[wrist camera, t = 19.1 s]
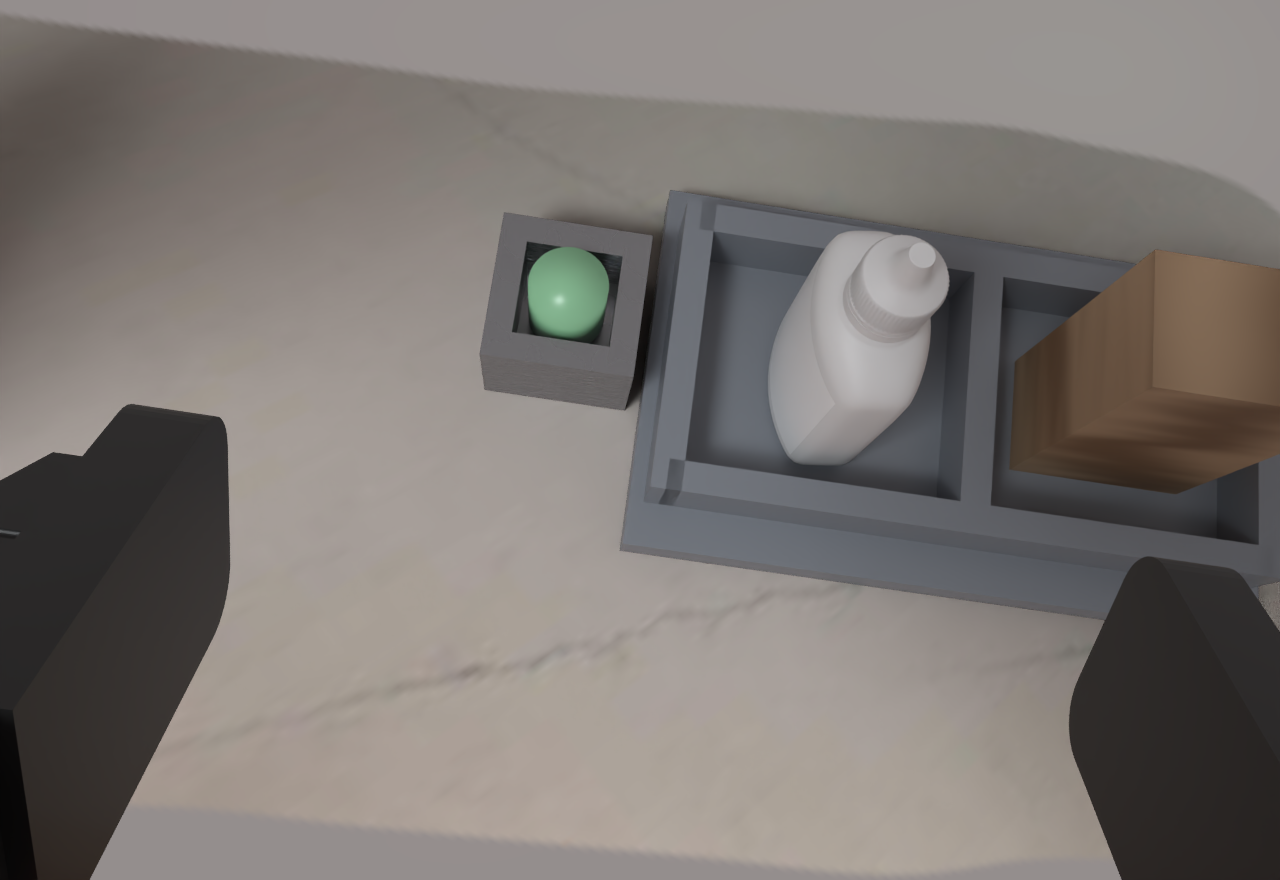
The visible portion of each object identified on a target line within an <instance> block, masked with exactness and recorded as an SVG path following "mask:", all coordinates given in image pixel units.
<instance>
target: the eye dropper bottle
mask: <svg viewBox="0 0 1280 880" xmlns="http://www.w3.org/2000/svg"><path fill="white" fill-rule="evenodd" d="M947 269H948V268H947V266H946V263H945V262H944V259H943V258H942V255H940V254H939V252H938V251H936V248H934V247H933V246H932V245H930V244H929V243H928V242H925V241H924V240H921V239H920V238H917V237H913V236H911V235H910V236H908V235H902V234H901V235H893V234H891V233H888V232H880V231H847V232H844V233H841V234H838V235H837V236H836V237H835V238H834V239H833V240H832V241H831V242H830V243H829V244H828V245H827V246H826V248H825V249H824V251H823V252H822V254H821V256H820V257H819V259H818V260H817V262H816V264H815V265H814V267H813V269H812V270H811V272H810V274H809V275H808V277H807V279H806V280H805V282H804V284H803V285H802V287H801V289H800V291H799V292H798V294H797V296H796V297H795V299H794V301H793V302H792V304H791V306H790V308H789V309H788V311H787V313H786V314H785V316H784V318H783V320H782V322H781V324H780V326H779V329H778V332H777V334H776V337H775V340H774V344H773V348H772V352H771V357H770V362H769V370H768V397H769V405H770V410H771V415H772V419H773V423H774V426H775V429H776V432H777V435H778V437H779V440H780V442H781V444H782V447H783V449H784V451H785V452H786V454H787V456H788V457H789V458H790V459H791V460H792V461H793V462H795V463H798V464H802V465H828V466H833V465H843V464H846V463H849V462H850V461H851V460H852V459H853V458H854V457H855V456H857V455H858V454H859V453H860V452H861V451H862V450H863V449H864V448H865V447H867V446H868V445H869V444H870V443H871V442H872V441H873V440H874V439H875V438H877V437H878V436H879V435H880V434H881V433H882V432H883V431H884V430H885V429H886V428H887V427H888V426H890V425H891V424H892V423H893V422H894V421H895V420H896V419H897V418H898V417H899V416H900V415H901V414H902V413H903V412H904V410H905V409H906V408H907V407H908V406H909V405H910V403H911V402H912V400H913V398H914V396H915V394H916V392H917V390H918V387H919V385H920V382H921V379H922V376H923V373H924V370H925V366H926V362H927V357H928V352H929V345H930V334H931V316H932V315H933V314H934V313H935V312H936V311H937V310H938V309H939V308H940V306H941V305H942V304H943V303H944V300H945V299H946V296H947V295H948V294H947V292H948V291H949V289H948V287H949V286H950V285H949V282H950V280H949V277H950V276H949V275H948V273H949V272H948V270H947Z"/></svg>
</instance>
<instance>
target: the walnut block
mask: <svg viewBox="0 0 1280 880" xmlns="http://www.w3.org/2000/svg"><path fill="white" fill-rule="evenodd" d="M1278 454H1280V269H1275V268H1268V267H1262V266H1256V265H1250V264H1243V263H1237V262H1231V261H1225V260H1218V259H1212V258H1206V257H1199V256H1193V255H1187V254H1181V253H1174V252H1168V251H1162V250H1154V251H1153V252H1152V253H1150V254H1149V255H1148V256H1147V257H1145V258H1144V259H1143V260H1142V261H1140V262H1139V263H1138V264H1136V265H1135V266H1134V267H1133V268H1131V269H1130V270H1129V271H1128V272H1126V273H1125V274H1124V275H1123V276H1121V277H1120V278H1119V279H1118V280H1116V281H1115V282H1114V283H1113V284H1111V285H1110V286H1109V287H1108V288H1106V289H1105V290H1104V291H1103V292H1101V293H1100V294H1099V295H1098V296H1096V297H1095V298H1094V299H1093V300H1091V301H1090V302H1089V303H1088V304H1086V305H1085V306H1084V307H1083V308H1081V309H1080V310H1079V311H1078V312H1076V313H1075V314H1074V315H1073V316H1071V317H1070V318H1069V319H1068V320H1066V321H1065V322H1064V323H1063V324H1061V325H1060V326H1059V327H1057V328H1056V329H1055V330H1054V331H1052V332H1051V333H1050V334H1049V335H1047V336H1046V337H1045V338H1044V339H1042V340H1041V341H1040V342H1039V343H1037V344H1036V345H1035V346H1034V347H1032V348H1031V349H1030V350H1029V351H1027V352H1026V353H1025V354H1024V355H1022V356H1021V357H1020V358H1019V359H1017V360H1016V361H1015V370H1014V389H1013V408H1012V427H1011V446H1010V466H1009V470H1015V471H1021V472H1028V473H1035V474H1042V475H1048V476H1055V477H1062V478H1068V479H1075V480H1082V481H1089V482H1095V483H1102V484H1109V485H1116V486H1122V487H1129V488H1136V489H1142V490H1149V491H1156V492H1163V493H1169V494H1178V493H1181V492H1183V491H1186V490H1189V489H1191V488H1194V487H1196V486H1199V485H1201V484H1204V483H1207V482H1209V481H1212V480H1214V479H1217V478H1219V477H1222V476H1225V475H1227V474H1230V473H1232V472H1235V471H1237V470H1240V469H1242V468H1245V467H1248V466H1250V465H1253V464H1255V463H1258V462H1260V461H1263V460H1266V459H1268V458H1271V457H1273V456H1276V455H1278Z"/></svg>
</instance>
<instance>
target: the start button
mask: <svg viewBox="0 0 1280 880" xmlns="http://www.w3.org/2000/svg"><path fill="white" fill-rule="evenodd" d="M608 292H609V280H608V275H607V272H606V270H605V268H604V266H603V265H602V263H601V262H600V261H599V260H598V259H597V258H596V257H595V256H594V255H592V254H591V253H589V252H587V251H585V250H582V249H579V248H575V247H561V248H556V249H553V250H551V251H549V252H547V253H545V254H544V255H542V256H541V257H540V258H539V259H538V260H537V261H536V262H535V264H534V265H533V267H532V269H531V271H530V274H529V278H528V315H529V323H530V326H531V328H532V331H533V332H534V334H535V335H536V336H541V337H548V338H555V339H561V340H568V341H574V342H581V343H588V344H590V343H591V342H592V341H593V340H594V339H595V338H596V337H597V336H598V334H599V333H600V331H601V329H602V326H603V322H604V316H605V310H606V304H607V298H608Z"/></svg>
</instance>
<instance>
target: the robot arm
mask: <svg viewBox="0 0 1280 880" xmlns="http://www.w3.org/2000/svg"><path fill="white" fill-rule="evenodd" d="M229 574H230V533H229V487H228V444H227V433H226V428H225V425H224V423H223V421H222V419H221V418H220V417H216V416H209V415H203V414H196V413H189V412H182V411H176V410H169V409H162V408H155V407H148V406H142V405H135V404H129V405H126V406H125V407H123V408H122V409H121V410H120V411H119V412H118V414H117V415H116V416H115V417H114V418H113V420H112V421H111V422H110V423H109V425H108V426H107V427H106V428H105V429H104V431H103V432H102V433H101V434H100V436H99V437H98V438H97V439H96V440H95V442H94V443H93V444H92V445H91V446H90V448H89V449H88V450H87V451H86V453H85V454H84V455H83V456H76V455H69V454H62V453H55V452H53V453H51V454H49V455H47V456H45V457H43V458H41V459H40V460H38V461H36V462H34V463H32V464H30V465H28V466H26V467H25V468H23V469H21V470H19V471H17V472H15V473H13V474H12V475H10V476H8V477H6V478H4V479H2V480H0V880H90V878H91V876H92V874H93V872H94V870H95V868H96V866H97V864H98V862H99V860H100V858H101V856H102V854H103V852H104V850H105V848H106V846H107V844H108V842H109V840H110V838H111V837H112V835H113V833H114V831H115V829H116V827H117V825H118V823H119V821H120V819H121V817H122V815H123V813H124V811H125V809H126V807H127V805H128V803H129V801H130V799H131V797H132V796H133V794H134V792H135V790H136V788H137V786H138V784H139V782H140V780H141V778H142V776H143V774H144V772H145V770H146V768H147V766H148V764H149V762H150V760H151V758H152V756H153V754H154V752H155V751H156V749H157V747H158V745H159V743H160V741H161V739H162V737H163V735H164V733H165V731H166V729H167V727H168V725H169V723H170V721H171V719H172V717H173V715H174V713H175V711H176V709H177V707H178V705H179V704H180V702H181V700H182V698H183V696H184V694H185V692H186V690H187V688H188V686H189V684H190V682H191V680H192V678H193V676H194V674H195V672H196V670H197V668H198V666H199V664H200V662H201V660H202V658H203V657H204V655H205V653H206V651H207V649H208V647H209V645H210V643H211V641H212V639H213V637H214V635H215V632H216V630H217V627H218V625H219V622H220V619H221V616H222V612H223V608H224V605H225V600H226V595H227V590H228V583H229ZM1069 734H1070V743H1071V747H1072V752H1073V755H1074V758H1075V761H1076V763H1077V766H1078V768H1079V771H1080V774H1081V776H1082V779H1083V781H1084V784H1085V786H1086V789H1087V792H1088V794H1089V797H1090V799H1091V802H1092V804H1093V807H1094V810H1095V812H1096V815H1097V817H1098V820H1099V822H1100V825H1101V828H1102V830H1103V833H1104V835H1105V838H1106V840H1107V843H1108V846H1109V848H1110V851H1111V853H1112V856H1113V858H1114V861H1115V864H1116V866H1117V869H1118V871H1119V874H1120V876H1121V879H1122V880H1280V632H1279V630H1278V629H1277V627H1276V626H1275V624H1274V623H1273V621H1272V620H1271V618H1270V617H1269V615H1268V614H1267V612H1266V611H1265V609H1264V608H1263V606H1262V605H1261V603H1260V602H1259V600H1258V599H1257V597H1256V596H1255V594H1254V593H1253V591H1252V590H1251V589H1250V587H1249V586H1248V584H1247V583H1246V581H1245V580H1244V578H1243V577H1242V576H1241V575H1240V574H1239V573H1238V572H1237V571H1235V570H1233V569H1231V568H1226V567H1219V566H1212V565H1206V564H1199V563H1192V562H1185V561H1178V560H1172V559H1165V558H1158V557H1150V556H1146V557H1143V558H1141V559H1139V560H1138V561H1136V562H1135V563H1134V564H1133V565H1132V567H1131V568H1130V570H1129V571H1128V572H1127V574H1126V576H1125V578H1124V580H1123V582H1122V585H1121V587H1120V589H1119V591H1118V593H1117V596H1116V598H1115V600H1114V602H1113V604H1112V606H1111V609H1110V611H1109V613H1108V615H1107V617H1106V620H1105V622H1104V624H1103V626H1102V628H1101V631H1100V633H1099V635H1098V637H1097V639H1096V641H1095V644H1094V646H1093V648H1092V650H1091V652H1090V655H1089V657H1088V659H1087V661H1086V663H1085V666H1084V668H1083V670H1082V672H1081V674H1080V677H1079V679H1078V681H1077V683H1076V686H1075V689H1074V692H1073V696H1072V700H1071V706H1070V714H1069Z"/></svg>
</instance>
